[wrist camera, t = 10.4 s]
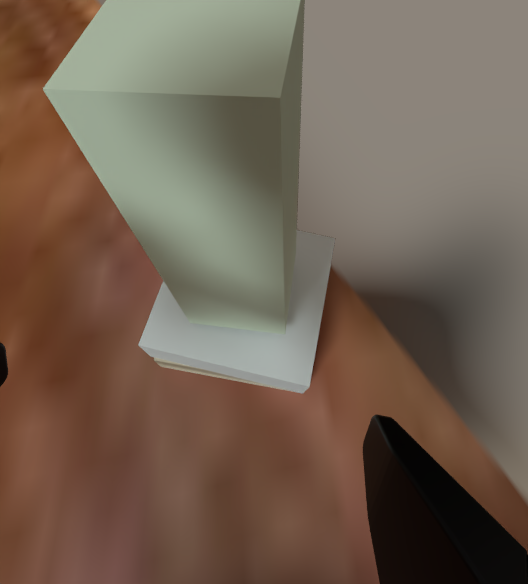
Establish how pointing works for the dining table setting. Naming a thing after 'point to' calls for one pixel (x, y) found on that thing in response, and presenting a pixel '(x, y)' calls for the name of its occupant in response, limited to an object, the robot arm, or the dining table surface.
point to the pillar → (197, 143)
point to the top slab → (246, 343)
